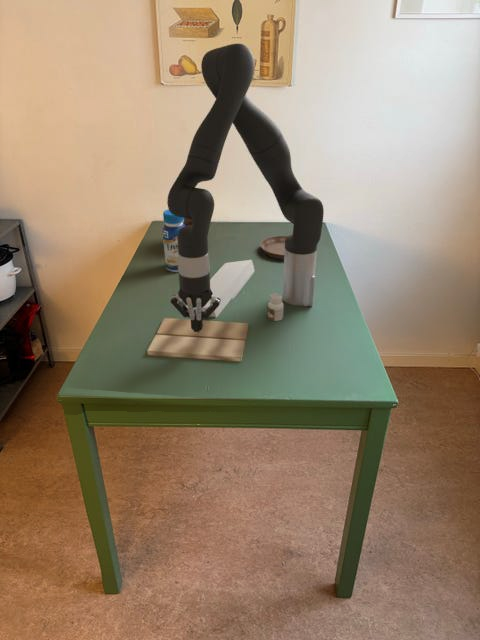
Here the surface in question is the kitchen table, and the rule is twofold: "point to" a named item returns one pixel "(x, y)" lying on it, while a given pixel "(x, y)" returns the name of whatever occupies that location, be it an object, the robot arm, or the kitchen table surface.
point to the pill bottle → (275, 307)
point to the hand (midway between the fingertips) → (197, 330)
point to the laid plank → (204, 329)
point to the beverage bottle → (171, 239)
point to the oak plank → (197, 347)
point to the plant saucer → (274, 246)
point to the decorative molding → (229, 282)
